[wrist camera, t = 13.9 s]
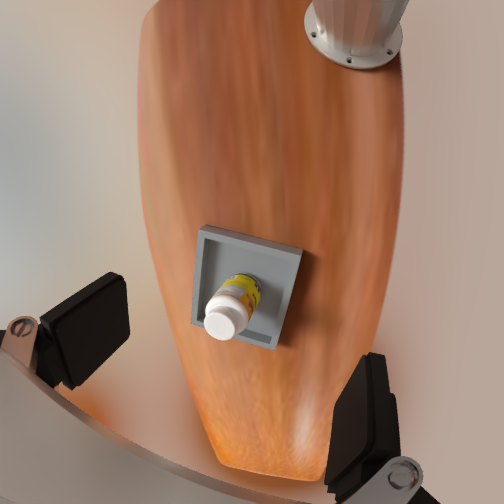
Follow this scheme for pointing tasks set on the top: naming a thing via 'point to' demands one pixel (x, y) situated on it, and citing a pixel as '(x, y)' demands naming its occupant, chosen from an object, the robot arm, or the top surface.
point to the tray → (251, 262)
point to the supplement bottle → (232, 306)
